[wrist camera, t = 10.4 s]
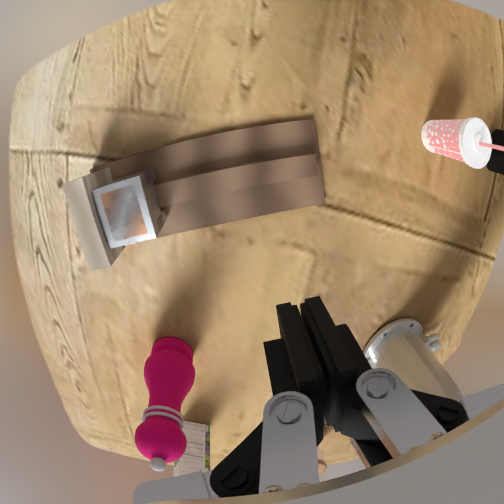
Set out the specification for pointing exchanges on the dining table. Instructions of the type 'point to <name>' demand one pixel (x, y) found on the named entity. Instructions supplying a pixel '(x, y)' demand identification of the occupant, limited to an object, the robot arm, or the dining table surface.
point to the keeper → (130, 208)
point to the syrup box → (194, 450)
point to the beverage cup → (460, 140)
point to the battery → (497, 153)
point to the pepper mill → (165, 402)
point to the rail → (209, 181)
